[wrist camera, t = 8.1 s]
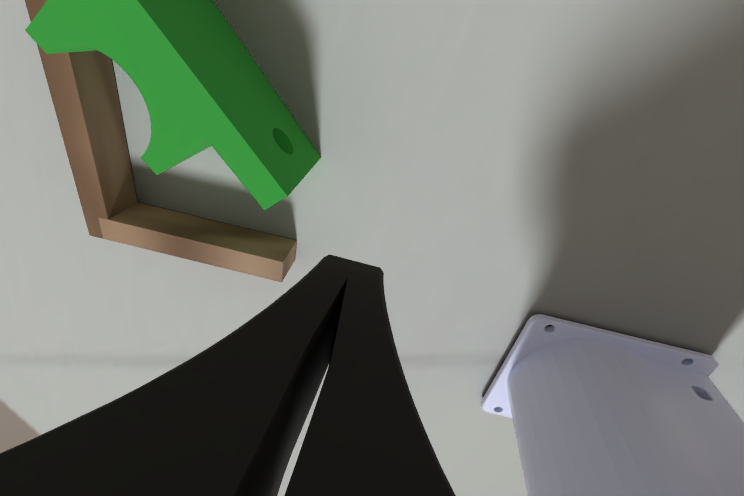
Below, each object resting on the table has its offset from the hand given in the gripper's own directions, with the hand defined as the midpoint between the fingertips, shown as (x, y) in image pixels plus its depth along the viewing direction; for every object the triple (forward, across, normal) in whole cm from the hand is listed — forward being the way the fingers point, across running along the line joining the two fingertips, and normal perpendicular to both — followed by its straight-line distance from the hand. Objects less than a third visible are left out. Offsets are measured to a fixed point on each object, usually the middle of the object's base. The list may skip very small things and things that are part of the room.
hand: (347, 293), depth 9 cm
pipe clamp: (+9, +8, -3) cm, 12 cm away
